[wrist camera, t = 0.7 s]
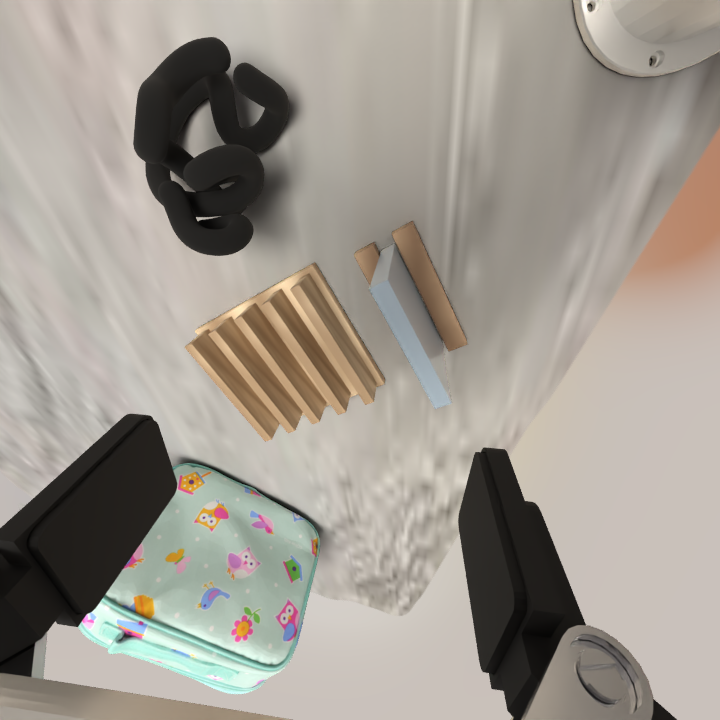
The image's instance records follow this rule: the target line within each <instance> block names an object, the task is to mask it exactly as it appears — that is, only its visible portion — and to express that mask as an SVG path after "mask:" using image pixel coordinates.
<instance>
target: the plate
mask: <svg viewBox="0 0 720 720" xmlns="http://www.w3.org/2000/svg"><path fill="white" fill-rule="evenodd" d="M369 290H370V292H371V294H372V296H373V297H374V299H375V301H376V303H377V305H378V307H379V308H380V310H381V312H382V314H383V316H384V317H385V319H386V321H387V323H388V325H389V326H390V328H391V330H392V332H393V334H394V336H395V337H396V339H397V341H398V343H399V345H400V346H401V348H402V350H403V352H404V354H405V356H406V357H407V359H408V361H409V363H410V365H411V366H412V368H413V370H414V372H415V374H416V375H417V377H418V379H419V381H420V383H421V385H422V386H423V388H424V390H425V392H426V394H427V395H428V397H429V399H430V401H431V403H432V405H433V406H434V408H435V409H436V408H439V407H442V406H445V405H448V404H451V403H452V401H451V395H450V388H449V382H448V376H447V369H446V363H445V357H444V351H443V344H442V339H441V337H440V335H439V333H438V331H437V328H436V326H435V324H434V322H433V320H432V318H431V316H430V314H429V312H428V310H427V308H426V306H425V304H424V302H423V300H422V298H421V296H420V294H419V292H418V290H417V287H416V285H415V283H414V281H413V279H412V277H411V275H410V273H409V271H408V269H407V267H406V265H405V263H404V261H403V259H402V257H401V255H400V253H399V251H398V248H397V246H396V244H395V243H394V244H392V245H390V246H389V247H387V248H385V249H383V250H381V253H380V256H379V259H378V263H377V266H376V269H375V272H374V275H373V278H372V281H371V284H370V287H369Z"/></svg>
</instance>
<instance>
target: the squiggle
mask: <svg viewBox="0 0 720 720" xmlns="http://www.w3.org/2000/svg"><path fill="white" fill-rule="evenodd" d="M230 63H231V57H230V53H229V50H228V48H227V46H226V45H225V44H224V43H223V42H222V41H221V40H220V39H217V38H214V37H208V38H201V39H196V40H193V41H191V42H188V43H186V44H184V45H182V46H181V47H179V48H178V49H176V50H175V51H174V52H173V53H171V54H170V55H169V56H168V57H167V58H166V59H165V60H164V61H163V62H162V63H161V64H160V65H159V66H158V68H157V69H156V70H155V71H154V72H153V73H152V74H151V75H150V76H149V77H148V78H147V79H146V80H145V81H144V82H143V83H142V85H141V87H140V89H139V92H138V98H137V106H136V117H135V129H134V143H133V144H134V149H135V151H136V153H137V155H138V156H139V157H140V158H141V159H142V160H144V161H145V162H146V177H147V181H148V185H149V187H150V189H151V191H152V193H153V195H154V196H155V198H156V199H157V200H158V201H159V202H160V203H161V204H162V205H163V206H164V208H165V210H166V213H167V215H168V218H169V221H170V223H171V226H172V228H173V230H174V232H175V233H176V235H177V236H178V238H179V239H180V240H181V241H182V242H183V243H184V244H185V245H186V246H188V247H189V248H191V249H193V250H195V251H197V252H199V253H202V254H207V255H214V256H223V255H229V254H233V253H236V252H238V251H240V250H241V249H243V248H244V247H245V246H246V245H247V244H248V243H249V242H250V240H251V238H252V235H253V226H252V224H251V222H250V220H249V219H248V218H247V217H245V216H244V215H241V213H242V212H243V211H244V210H245V209H246V208H247V206H249V205H250V204H251V203H252V202H253V201H254V200H255V199H256V198H257V197H258V195H259V194H260V192H261V190H262V187H263V183H264V169H263V166H262V163H261V161H260V159H259V158H258V156H257V155H256V154H255V153H256V152H259V151H261V150H263V149H265V148H267V147H268V146H269V145H271V144H272V143H273V142H274V141H275V139H276V138H277V137H278V136H279V134H280V133H281V131H282V129H283V127H284V125H285V123H286V120H287V117H288V113H289V100H288V96H287V94H286V92H285V91H284V89H283V88H282V87H281V86H280V85H279V84H278V83H276V82H275V81H274V80H272V79H271V78H269V77H268V76H266V75H265V74H263V73H262V72H260V71H259V70H258V69H256V68H255V67H254V66H252V65H250V64H248V63H241V64H239V65H237V67H236V68H235V70H234V74H233V79H234V83H235V86H236V88H237V89H238V90H239V92H241V93H242V94H243V95H245V96H246V97H248V98H249V99H251V100H252V101H254V102H256V103H258V104H259V105H261V106H263V107H265V110H264V112H263V114H262V116H261V118H260V119H259V121H258V122H257V123H256V124H255V125H254V126H252V127H249V128H241V127H240V125H239V122H238V117H237V112H236V105H235V98H234V92H233V87H232V84H231V81H230V79H229V77H228V75H227V74H226V71H227V70H228V69H229V67H230ZM208 97H209V98H210V105H211V111H212V116H213V120H214V123H215V126H216V129H217V132H218V134H219V135H220V137H221V139H222V140H223V141H224V143H225V144H226V145H223V146H219V147H215V148H213V149H210V150H208V151H206V152H204V153H202V154H200V155H198V156H197V157H195V158H193V157H192V156H191V155H190V154H189V153H188V152H186V151H185V150H184V149H183V148H181V147H180V146H179V145H178V144H176V142H177V139H178V136H179V133H180V131H181V129H182V126H183V124H184V123H185V121H186V119H187V118H188V116H189V115H190V113H191V112H192V111H193V110H194V109H195V107H196V106H198V105H199V104H200V103H201V102H202V101H204V100H205V99H207V98H208ZM170 170H171V171H172V172H174V173H175V174H176V175H178V176H179V177H180V178H181V179H183V180H184V181H185V182H186V183H187V184H188V185H189V186H190V187H191V188H192V189H194V190H195V191H196V192H188V191H185V190H184V189H183V187H182V186H181V185H180V184H178V183H177V182H174V181H171V177H170ZM230 182H235V183H234V184H232V185H231V186H229V187H227V188H225V189H222V188H221V187H220V186H219V185H222V184H225V183H230ZM215 216H221V217H217V218H213V219H206V220H200V221H197V219H196V217H215Z"/></svg>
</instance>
